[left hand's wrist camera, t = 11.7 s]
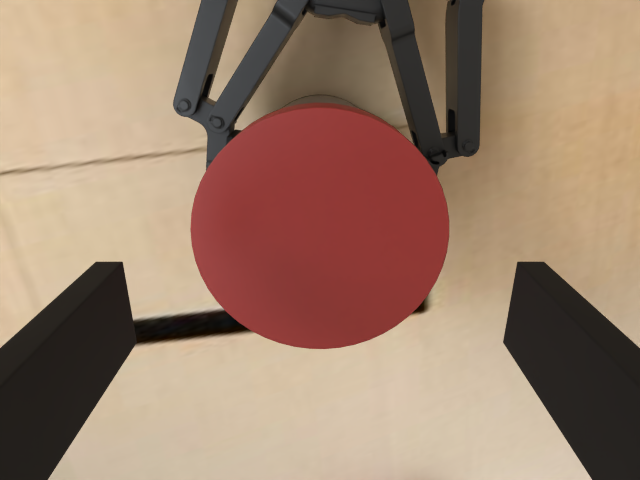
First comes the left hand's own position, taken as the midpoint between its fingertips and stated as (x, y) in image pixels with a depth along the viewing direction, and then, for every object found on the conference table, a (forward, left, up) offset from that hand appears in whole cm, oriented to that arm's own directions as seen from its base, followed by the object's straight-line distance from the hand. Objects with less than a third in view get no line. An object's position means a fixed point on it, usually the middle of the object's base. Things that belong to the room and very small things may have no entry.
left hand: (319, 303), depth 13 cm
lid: (0, 0, -5) cm, 5 cm away
